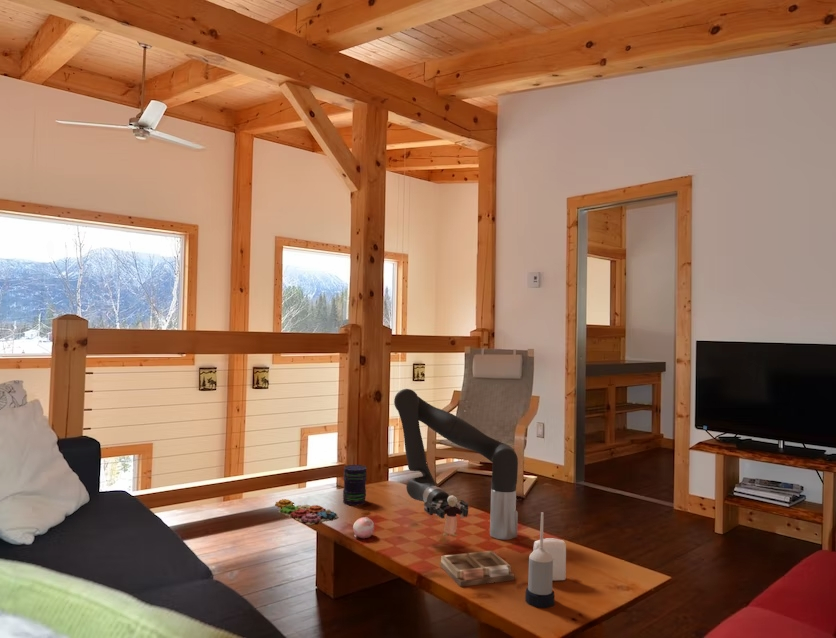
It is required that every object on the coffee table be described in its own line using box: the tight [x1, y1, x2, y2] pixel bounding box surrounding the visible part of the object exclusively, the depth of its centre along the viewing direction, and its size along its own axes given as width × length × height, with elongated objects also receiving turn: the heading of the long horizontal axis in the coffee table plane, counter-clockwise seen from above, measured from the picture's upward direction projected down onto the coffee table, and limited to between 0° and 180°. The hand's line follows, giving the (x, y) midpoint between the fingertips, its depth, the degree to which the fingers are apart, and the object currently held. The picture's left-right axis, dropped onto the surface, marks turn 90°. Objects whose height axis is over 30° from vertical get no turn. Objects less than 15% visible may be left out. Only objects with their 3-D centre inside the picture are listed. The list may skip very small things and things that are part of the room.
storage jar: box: [342, 464, 367, 506], centre depth 266 cm, size 10×10×15 cm
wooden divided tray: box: [439, 550, 515, 588], centre depth 193 cm, size 18×16×4 cm
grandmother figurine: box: [438, 495, 465, 537], centre depth 196 cm, size 8×4×13 cm, turn 104°
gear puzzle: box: [274, 499, 339, 526], centre depth 249 cm, size 31×16×4 cm, turn 46°
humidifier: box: [524, 512, 555, 609], centre depth 174 cm, size 8×8×25 cm
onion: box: [352, 516, 375, 540], centre depth 223 cm, size 8×8×7 cm
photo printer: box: [532, 537, 567, 581], centre depth 190 cm, size 10×4×12 cm, turn 96°
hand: (455, 514), depth 194 cm, fingers closed on grandmother figurine, 7 cm apart
